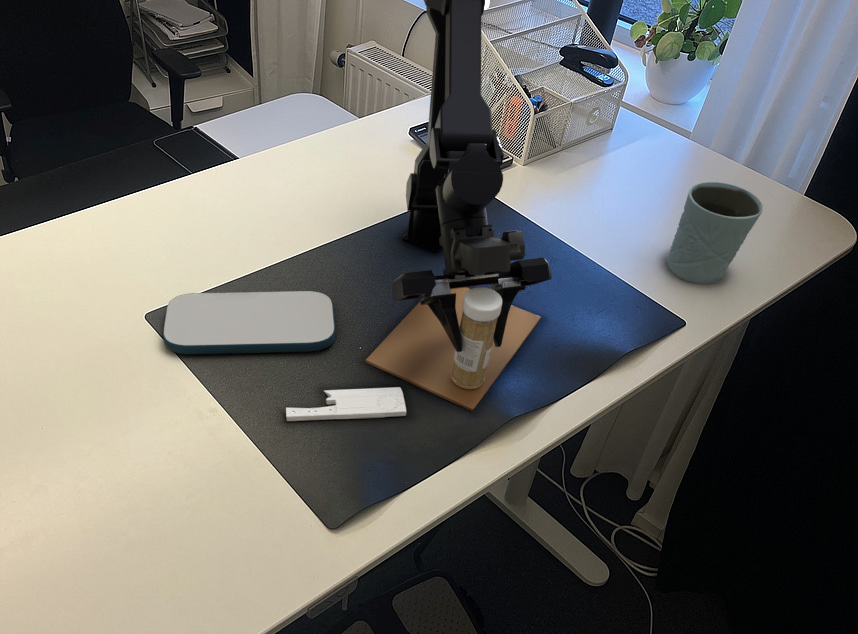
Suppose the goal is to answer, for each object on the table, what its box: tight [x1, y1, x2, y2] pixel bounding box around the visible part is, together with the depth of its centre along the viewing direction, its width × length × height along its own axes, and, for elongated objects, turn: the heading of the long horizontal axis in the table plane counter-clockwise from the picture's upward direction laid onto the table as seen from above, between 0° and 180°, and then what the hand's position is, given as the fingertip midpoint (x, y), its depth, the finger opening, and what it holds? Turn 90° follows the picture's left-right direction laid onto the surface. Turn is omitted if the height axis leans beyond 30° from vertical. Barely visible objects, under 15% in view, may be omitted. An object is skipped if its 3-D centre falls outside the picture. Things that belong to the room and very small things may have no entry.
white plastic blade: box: [285, 386, 407, 422], centre depth 96 cm, size 5×15×1 cm, turn 94°
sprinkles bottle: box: [451, 286, 502, 389], centre depth 94 cm, size 5×5×14 cm
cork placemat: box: [365, 287, 542, 412], centre depth 105 cm, size 16×22×1 cm
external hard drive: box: [162, 290, 336, 355], centre depth 106 cm, size 24×12×2 cm, turn 93°
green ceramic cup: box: [666, 181, 764, 285], centre depth 113 cm, size 10×10×12 cm
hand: (478, 349), depth 93 cm, fingers open, 5 cm apart
